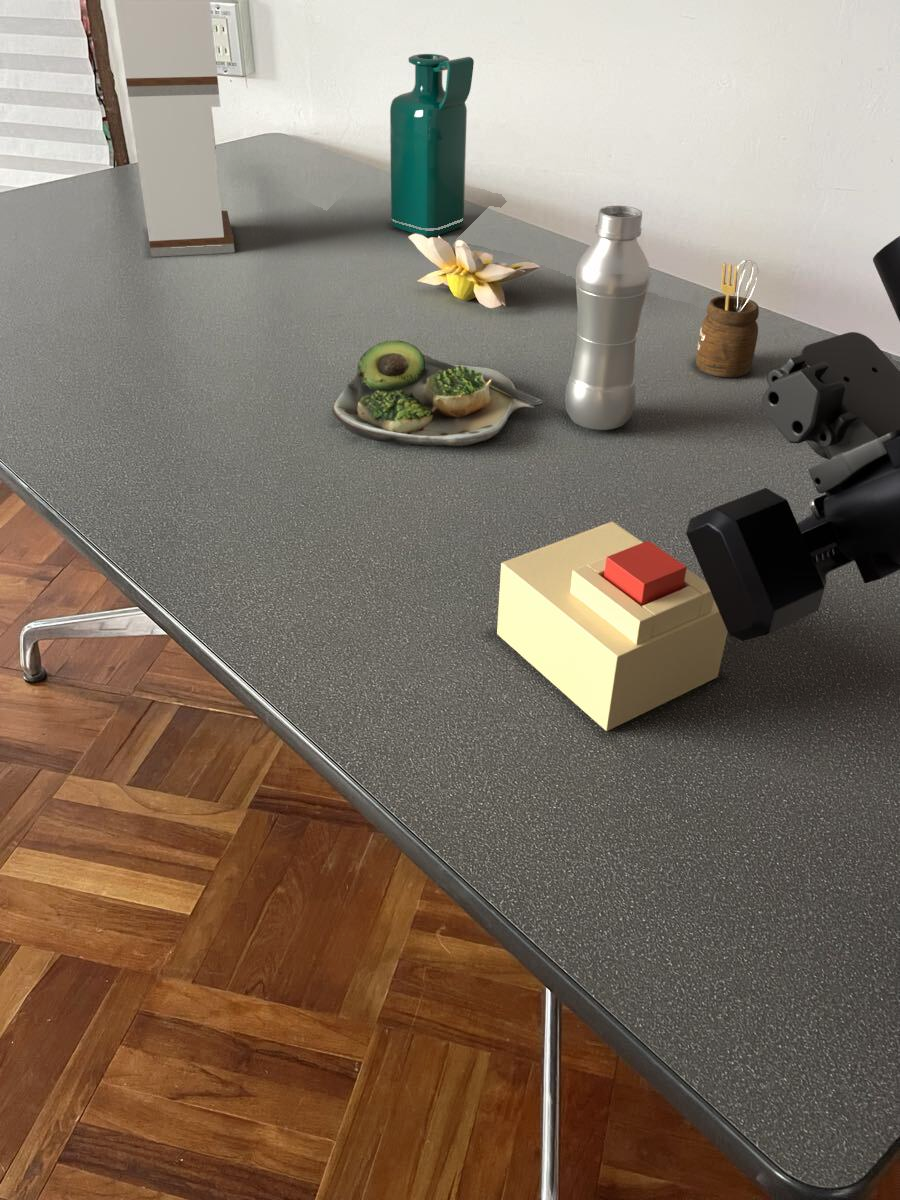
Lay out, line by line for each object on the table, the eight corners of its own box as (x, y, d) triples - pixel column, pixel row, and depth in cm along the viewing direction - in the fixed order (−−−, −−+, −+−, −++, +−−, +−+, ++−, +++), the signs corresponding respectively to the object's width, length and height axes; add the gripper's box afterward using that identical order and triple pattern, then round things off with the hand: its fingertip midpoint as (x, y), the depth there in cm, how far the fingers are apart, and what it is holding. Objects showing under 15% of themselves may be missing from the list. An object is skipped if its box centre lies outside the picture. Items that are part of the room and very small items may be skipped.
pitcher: (385, 226, 151) (382, 53, 138) (424, 213, 156) (425, 45, 143) (437, 242, 146) (440, 64, 133) (476, 228, 151) (482, 55, 138)
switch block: (718, 677, 73) (739, 582, 68) (606, 731, 69) (620, 633, 64) (603, 590, 81) (615, 499, 76) (496, 634, 77) (502, 540, 72)
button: (683, 589, 68) (687, 566, 67) (640, 607, 67) (644, 584, 66) (644, 562, 71) (648, 540, 70) (603, 579, 69) (606, 556, 68)
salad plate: (555, 384, 110) (558, 342, 107) (521, 466, 96) (524, 420, 93) (375, 362, 114) (374, 320, 111) (317, 438, 100) (314, 392, 97)
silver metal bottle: (636, 439, 101) (666, 224, 89) (565, 437, 101) (585, 222, 89) (627, 408, 106) (654, 201, 94) (559, 407, 106) (577, 199, 94)
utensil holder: (759, 365, 115) (781, 253, 108) (736, 385, 111) (758, 270, 104) (707, 351, 118) (726, 242, 111) (684, 370, 114) (702, 258, 107)
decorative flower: (564, 285, 128) (553, 205, 122) (503, 331, 123) (488, 250, 117) (473, 262, 137) (458, 187, 131) (413, 304, 132) (394, 228, 126)
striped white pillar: (234, 252, 141) (204, -59, 120) (151, 256, 139) (105, -59, 118) (228, 225, 150) (199, -69, 129) (150, 229, 148) (107, -69, 127)
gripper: (1030, 267, 51) (800, 393, 65) (757, 349, 43) (560, 474, 56) (1125, 481, 51) (873, 562, 64) (869, 608, 42) (642, 670, 56)
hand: (745, 562), depth 60 cm, fingers open, 6 cm apart
